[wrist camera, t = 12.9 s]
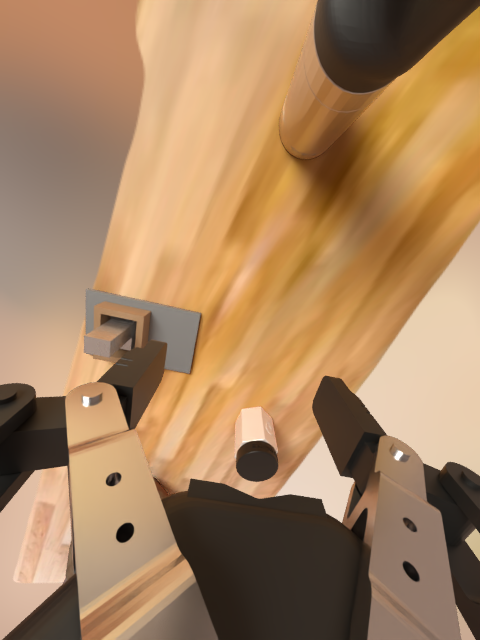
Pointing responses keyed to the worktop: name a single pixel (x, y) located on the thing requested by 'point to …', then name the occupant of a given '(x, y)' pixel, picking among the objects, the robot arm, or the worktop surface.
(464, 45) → the worktop surface
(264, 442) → the jar
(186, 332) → the board
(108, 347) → the block
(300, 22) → the worktop surface
